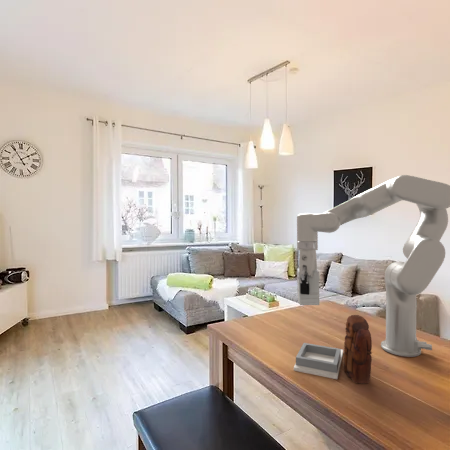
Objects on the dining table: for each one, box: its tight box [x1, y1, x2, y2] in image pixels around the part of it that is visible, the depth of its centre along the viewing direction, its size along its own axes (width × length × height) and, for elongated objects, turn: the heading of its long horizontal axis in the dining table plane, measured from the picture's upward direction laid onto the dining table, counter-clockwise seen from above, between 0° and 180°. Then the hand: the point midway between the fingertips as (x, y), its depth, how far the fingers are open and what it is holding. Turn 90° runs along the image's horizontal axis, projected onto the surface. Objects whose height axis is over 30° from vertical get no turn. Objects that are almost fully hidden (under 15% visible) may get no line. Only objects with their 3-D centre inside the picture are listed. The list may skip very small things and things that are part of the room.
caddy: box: [293, 342, 344, 380], centre depth 104 cm, size 13×20×4 cm, turn 155°
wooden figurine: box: [343, 314, 373, 384], centre depth 95 cm, size 12×6×18 cm, turn 178°
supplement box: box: [296, 267, 320, 306], centre depth 118 cm, size 7×7×13 cm
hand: (307, 291), depth 118 cm, fingers closed on supplement box, 9 cm apart
